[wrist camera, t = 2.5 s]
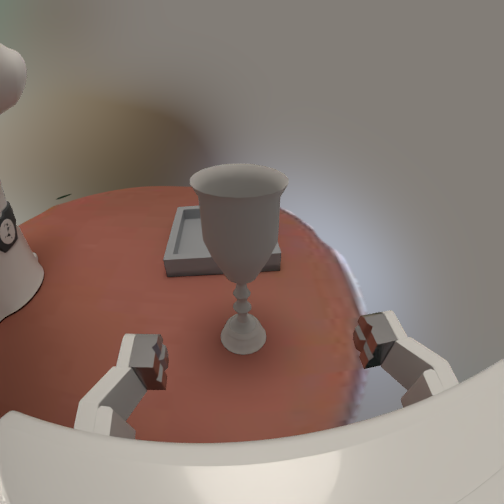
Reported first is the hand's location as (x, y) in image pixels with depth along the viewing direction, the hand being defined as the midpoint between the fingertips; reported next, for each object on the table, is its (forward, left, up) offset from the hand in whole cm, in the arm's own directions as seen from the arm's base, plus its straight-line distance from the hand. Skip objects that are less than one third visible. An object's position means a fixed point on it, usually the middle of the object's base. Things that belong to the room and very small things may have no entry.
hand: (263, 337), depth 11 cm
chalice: (0, +12, -16) cm, 20 cm away
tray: (-2, +31, -16) cm, 35 cm away
